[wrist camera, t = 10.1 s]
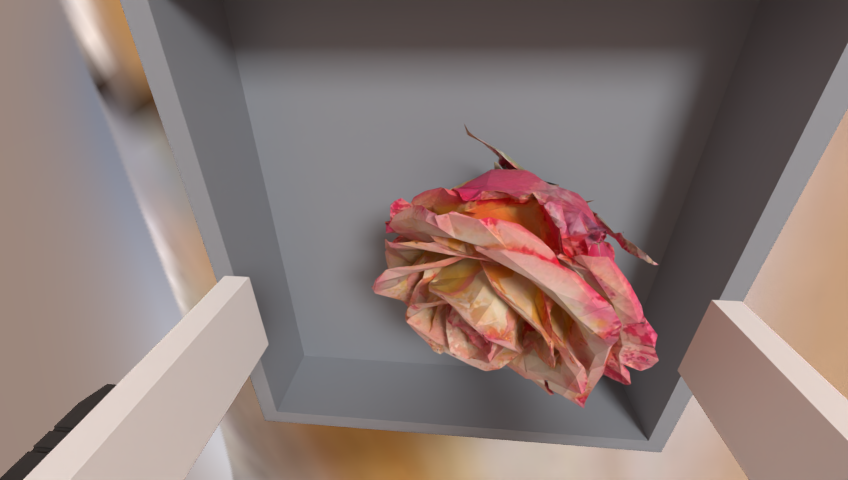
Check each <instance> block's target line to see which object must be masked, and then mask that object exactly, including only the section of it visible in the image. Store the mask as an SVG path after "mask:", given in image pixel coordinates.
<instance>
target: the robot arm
mask: <svg viewBox="0 0 848 480" xmlns="http://www.w3.org/2000/svg"><path fill="white" fill-rule="evenodd" d="M268 345H269V344H268V340H267V337H266V333H265V330H264V326H263V323H262V320H261V316H260V313H259V309H258V306H257V302H256V299H255V295H254V292H253V289H252V285H251V282H250V278H249V277H240V276H224V277H223V278H222V279H221V280H220V281H219V282H218V283H217V284H216V285H215V286H214V287H213V288H212V289H211V290H210V291H209V292H208V293H207V294H206V295H205V296H204V297H203V298H202V299H201V300H200V301H199V302H198V303H197V304H196V305H195V306H194V307H193V308H192V309H191V310H190V311H189V312H188V313H187V314H186V315H185V316H184V317H183V319H182V320H181V321H180V322H179V323H178V324H177V325H176V326H175V327H174V328H173V329H172V330H171V331H170V332H169V333H168V334H167V335H166V336H165V337H164V338H163V339H162V340H161V341H160V342H159V343H158V344H157V345H156V346H155V347H154V348H153V349H152V350H151V351H150V352H149V353H148V354H147V355H146V356H145V357H144V358H143V359H142V360H141V361H140V362H139V363H138V364H137V365H136V366H135V367H134V368H133V369H132V370H131V371H130V372H129V373H128V374H127V375H126V376H125V377H124V378H123V379H122V380H121V381H120V382H119V383H118V384H117V385H112V384H107V385H105V386H104V387H102V388H101V389H100V390H98V391H97V392H95V393H93V394H92V395H90V396H89V397H87V398H86V399H84V400H83V401H81V402H80V403H78V404H77V405H76V406H75V407H74V408H73V409H72V410H71V411H70V412H69V413H68V414H67V415H66V416H65V417H64V418H63V419H62V420H61V421H59V422H58V423H57V425H55V426H54V427H55V428H54V430H53V431H49V432H48V433H47V434H46V435H45V436H44V437H43V438H42V439H41V440H40V441H39V442H38V443H37V444H36V445H34V449H33V450H32V451H31V452H27V453H26V454H25V455H24V456H23V457H22V458H21V459H20V460H19V461H18V462H17V463H16V464H15V465H14V466H12V467H11V468H10V469H9V470H8V471H7V472H6V473H5V474H4V475H3V476H2V477H1V478H0V480H184V479H185V478H186V476H187V474H188V473H189V471H190V470H191V468H192V466H193V465H194V463H195V462H196V460H197V458H198V457H199V455H200V454H201V452H202V450H203V448H204V447H205V446H206V444H207V442H208V441H209V439H210V437H211V436H212V434H213V433H214V431H215V430H216V428H217V426H218V425H219V423H220V422H221V420H222V418H223V417H224V415H225V413H226V412H227V410H228V409H229V407H230V405H231V404H232V402H233V401H234V399H235V397H236V396H237V394H238V393H239V391H240V389H241V388H242V386H243V385H244V383H245V381H246V380H247V378H248V377H249V375H250V373H251V372H252V370H253V369H254V367H255V365H256V364H257V362H258V361H259V359H260V357H261V356H262V354H263V353H264V351H265V349H266V348H267V346H268ZM677 371H678V372H679V374H680V375H681V377H682V378H683V380H684V381H685V383H686V384H687V386H688V387H689V389H690V390H691V392H692V394H693V395H694V397H695V398H696V400H697V401H698V403H699V404H700V406H701V407H702V409H703V410H704V412H705V413H706V415H707V416H708V418H709V419H710V421H711V422H712V424H713V426H714V427H715V429H716V430H717V432H718V433H719V435H720V436H721V438H722V439H723V441H724V442H725V444H726V445H727V447H728V448H729V450H730V451H731V453H732V454H733V456H734V458H735V459H736V461H737V462H738V464H739V465H740V467H741V468H742V470H743V471H744V473H745V474H746V476H747V477H748V479H749V480H848V400H847V399H846V398H845V397H844V396H843V395H842V394H841V393H840V392H839V391H837V390H836V389H835V388H834V387H833V386H832V385H831V384H830V383H829V382H828V381H827V380H826V379H825V378H823V377H822V376H821V375H820V374H819V373H818V372H817V371H816V370H815V369H814V368H813V367H812V366H811V365H810V364H808V363H807V362H806V361H805V360H804V359H803V358H802V357H801V356H800V355H799V354H798V353H797V352H796V351H794V350H793V349H792V348H791V347H790V346H789V345H788V344H787V343H786V342H785V341H784V340H783V339H782V338H781V337H779V336H778V335H777V334H776V333H775V332H774V331H773V330H772V329H771V328H770V327H769V326H768V325H767V324H766V323H764V322H763V321H762V320H761V319H760V318H759V317H758V316H757V315H756V314H755V313H754V312H753V311H752V310H750V309H749V308H748V307H747V306H746V305H745V304H744V303H743V302H742V301H726V300H711V302H710V304H709V307H708V309H707V311H706V313H705V315H704V317H703V319H702V321H701V323H700V325H699V327H698V329H697V331H696V333H695V335H694V337H693V339H692V341H691V343H690V345H689V347H688V350H687V352H686V354H685V356H684V358H683V360H682V362H681V364H680V366H679V368H678V370H677Z"/></svg>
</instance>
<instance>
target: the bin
mask: <svg viewBox="0 0 848 480" xmlns="http://www.w3.org/2000/svg"><path fill="white" fill-rule="evenodd" d="M120 2H121V5H122V8H123V11H124V14H125V17H126V19H127V22H128V25H129V28H130V31H131V34H132V37H133V40H134V43H135V46H136V48H137V51H138V54H139V57H140V60H141V63H142V66H143V69H144V72H145V74H146V77H147V80H148V83H149V86H150V89H151V92H152V95H153V98H154V101H155V103H156V106H157V109H158V112H159V115H160V118H161V121H162V124H163V127H164V129H165V132H166V135H167V138H168V141H169V144H170V147H171V150H172V153H173V156H174V158H175V161H176V164H177V167H178V170H179V173H180V176H181V179H182V182H183V184H184V187H185V190H186V193H187V196H188V199H189V202H190V205H191V208H192V211H193V213H194V216H195V219H196V222H197V225H198V228H199V231H200V234H201V237H202V239H203V242H204V245H205V248H206V251H207V254H208V257H209V260H210V263H211V266H212V268H213V271H214V274H215V277H216V280H217V283H218V282H219V281H220V280H221V279H222V278H223V277H224V276H240V277H249V278H250V282H251V285H252V289H253V292H254V295H255V299H256V302H257V306H258V309H259V313H260V316H261V320H262V323H263V326H264V330H265V333H266V337H267V340H268V344H269V345H268V346H267V348H266V349H265V351H264V353H263V354H262V356H261V357H260V359H259V361H258V362H257V364H256V365H255V367H254V369H253V370H252V372H251V373H250V375H249V376H250V378H251V381H252V384H253V387H254V390H255V393H256V396H257V399H258V402H259V405H260V407H261V410H262V413H263V416H264V419H265V421H277V422H290V423H302V424H314V425H327V426H339V427H352V428H364V429H377V430H389V431H401V432H414V433H426V434H439V435H451V436H463V437H476V438H488V439H501V440H513V441H525V442H538V443H550V444H563V445H575V446H587V447H600V448H612V449H625V450H637V451H649V452H661V451H662V450H663V448H664V446H665V444H666V442H667V440H668V439H669V437H670V435H671V433H672V431H673V429H674V428H675V426H676V424H677V422H678V420H679V418H680V416H681V415H682V413H683V411H684V409H685V407H686V405H687V404H688V402H689V400H690V398H691V396H692V392H691V390H690V389H689V387H688V386H687V384H686V383H685V381H684V380H683V378H682V377H681V375H680V374H679V372H678V371H677V370H678V368H679V366H680V364H681V362H682V360H683V358H684V356H685V354H686V352H687V350H688V347H689V345H690V343H691V341H692V339H693V337H694V335H695V333H696V331H697V329H698V327H699V325H700V323H701V321H702V319H703V317H704V315H705V313H706V311H707V309H708V307H709V304H710V302H711V300H726V301H742V302H743V300H744V299H745V297H746V295H747V293H748V291H749V289H750V287H751V286H752V284H753V282H754V280H755V278H756V276H757V275H758V273H759V271H760V269H761V267H762V265H763V263H764V262H765V260H766V258H767V256H768V254H769V252H770V251H771V249H772V247H773V245H774V243H775V241H776V240H777V238H778V236H779V234H780V232H781V230H782V228H783V227H784V225H785V223H786V221H787V219H788V217H789V216H790V214H791V212H792V210H793V208H794V206H795V205H796V203H797V201H798V199H799V197H800V195H801V193H802V192H803V190H804V188H805V186H806V184H807V182H808V181H809V179H810V177H811V175H812V173H813V171H814V169H815V168H816V166H817V164H818V162H819V160H820V158H821V157H822V155H823V153H824V151H825V149H826V147H827V146H828V144H829V142H830V140H831V138H832V136H833V134H834V133H835V131H836V129H837V127H838V125H839V123H840V122H841V120H842V118H843V116H844V114H845V112H846V111H847V109H848V0H120ZM464 124H465V125H464ZM465 126H466V127H467V129H468V131H469V132H470V133H471V134H472V135H474V136H475V137H476V138H478V139H480V140H482V141H484V142H486V143H488V144H489V145H491V146H493V147H495V148H497V149H498V150H500V151H502V152H504V153H505V154H506V155H508V156H509V157H510V158H511V159H513V160H514V161H515V162H516V163H518V164H519V165H520V166H521V167H522V168H524V169H525V170H528V171H529V172H531V173H533V174H535V175H536V176H538V177H539V178H541V179H542V180H543V181H546V182H550V183H554V184H558V185H559V187H561V188H564V189H567V190H569V191H572V192H575V193H578V194H579V195H580V196H581V197H582V198H583V199H584V200H585V201H591V202H589V203H587V204H588V206H589V208H590V209H591V210H592V211H593V212H595V213H597V215H599V216H600V217H601V218H602V219H604V221H605V222H606V223H607V225H608V226H609V227H610V228H611V230H612V231H613V232H614V233H622V235H623V237H624V238H625V239H627V240H629V241H630V242H632V243H633V244H634V245H635V246H637V247H638V248H639V249H641V250H642V251H643V252H644V253H646V254H647V255H648V256H649V257H650V258H651V259H652V261H654V262H655V263H657V264H658V265H653V264H650V263H648V262H646V261H645V260H644V259H641V258H637V257H636V256H634V255H633V254H630V253H628V252H627V251H628V250H627V251H626V250H624V249H622V248H621V246H620V244H619V243H618V242H617V240H616V239H614V238H613V237H611V236H610V235H608V234H607V235H606V236H607V238H606V239H605V240H604V241H605V242H609V243H610V244H611V246H612V247H613V248H614V253H615V258H614V262H615V263H616V265H617V266H618V268H619V269H620V270H621V272H622V273H623V275H624V276H625V277H626V279H627V280H628V282H629V283H630V285H631V287H632V289H633V290H634V292H635V294H636V296H637V298H638V300H639V302H640V304H641V306H642V310H643V315H644V317H645V318H646V320H647V321H648V322H649V324H650V325H651V326H652V328H653V329H654V331H655V332H656V333H657V335H658V336H657V340H656V345H655V351H656V354H657V356H658V360H659V361H658V362H657V363H655V364H654V365H653V366H652V367H650V368H647V369H645V370H642V371H639V370H637V369H634V368H632V367H629V366H626V365H624V364H623V365H624V367H625V368H626V369H627V370H628V371H629V374H630V381H631V384H630V385H625V384H623V383H620V382H618V381H616V380H613V379H611V378H610V377H608V376H606V375H605V374H603V375H602V376H601V378H600V379H599V381H598V382H597V384H596V385H595V387H594V388H593V390H592V391H591V393H590V394H589V396H588V397H587V399H586V402H585V406H584V408H582V407H580V406H579V405H577V404H575V403H574V402H572V401H570V400H569V399H567V398H565V397H564V396H562V395H560V394H558V393H556V392H554V391H553V393H554V395H549V394H548V393H547V392H546V391H544V390H543V389H542V388H541V387H540V386H538V385H537V384H536V383H535V382H534V381H532V380H531V379H525V378H524V377H523V376H521V375H520V374H518V373H517V372H515V371H514V370H513V369H511V368H510V367H508V366H507V365H505V366H503V367H502V368H500V369H497V370H490V371H484V370H481V369H479V368H477V367H474V366H472V365H470V364H467V363H465V362H463V361H461V360H459V359H457V358H455V357H454V356H452V355H450V354H448V353H446V352H443V353H441V354H439V353H436V352H434V351H433V350H432V348H431V347H430V345H429V344H428V343H427V342H426V341H425V340H424V339H423V338H422V337H421V336H419V335H418V334H417V333H416V332H415V331H414V330H413V328H412V327H411V326H410V325H409V324H408V323H407V322H406V321H405V313H406V310H407V308H408V306H407V305H406V304H405V303H404V302H403V301H402V300H399V299H395V298H391V297H387V296H383V295H379V294H376V293H375V292H374V291H373V289H372V287H371V286H373V285H374V282H375V280H376V279H377V278H378V277H379V276H380V275H381V274H382V273H383V272H384V271H385V270H387V269H388V267H387V262H386V256H385V251H386V248H385V239H387V241H388V242H393V241H394V240H395V239H396V238H397V237H398V236H399V235H400V234H397V233H386V224H385V222H386V221H390V205H391V204H392V203H393V202H394V201H396V200H397V199H400V198H402V199H404V200H405V201H407V202H408V203H411V202H412V200H413V198H414V197H415V196H417V195H419V194H421V193H422V192H424V191H427V190H431V189H436V188H440V187H441V188H445V189H448V190H450V189H452V188H454V187H455V186H457V185H460V184H462V183H464V182H466V181H469V180H472V179H474V178H477V177H479V176H480V175H482V174H484V173H486V172H487V171H489V170H491V169H494V162H496V163H498V160H499V157H498V156H497V155H496V154H495V153H494V152H492V151H491V150H490V149H489V148H488V147H487V146H486V145H484V144H483V143H482V142H480V141H478V140H476V139H474V138H472V137H470V136H469V135H467V132H466V129H465ZM498 164H499V163H498ZM499 166H500V165H499ZM500 167H501V166H500ZM501 169H503V168H502V167H501ZM592 200H594V201H592ZM623 232H624V233H623ZM635 249H636V248H635ZM645 257H646V256H645ZM640 323H642V324H644V323H643V322H640ZM648 360H649V359H647V360H646V361H648ZM546 381H548V380H546Z"/></svg>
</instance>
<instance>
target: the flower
mask: <svg viewBox="0 0 848 480" xmlns="http://www.w3.org/2000/svg"><path fill="white" fill-rule="evenodd" d="M464 125H465V124H464ZM465 129H466V132H467V135H469V136H470V137H472V138H474V139H476V140H478V141H480V142H482V143H483V144H484V145H486V146H487V147H488V148H489V149H490V150H491V151H492V152H494V153H495V154H496V155H497V156H498V157H499V160H498V163H499V164H498V163H496V162H494V169H491V170H489V171H487V172H486V173H484V174H482V175H480V176H479V177H477V178H474V179H472V180H469V181H466V182H464V183H462V184H460V185H457V186H455V187H454V188H452V189H450V190H448V189H445V188H441V187H440V188H436V189H431V190H427V191H424V192H422V193H421V194H419V195H417V196H415V197H414V198H413V200H412V202H411V203H408V202H407V201H405V200H404V199H402V198H400V199H397V200H396V201H394V202H393V203H392V204H391V205H390V221H386V222H385V224H386V233H397V234H400V235H399V236H398V237H397V238H396V239H395V240H394V241H393V242H388V241H387V239H385V248H386V251H385V256H386V262H387V267H388V269H387V270H385V271H384V272H383V273H382V274H381V275H380V276H379V277H378V278H377V279H376V280H375V282H374V285H373V286H371V287H372V289H373V291H374V292H375V293H376V294H379V295H383V296H387V297H391V298H395V299H399V300H402V301H403V302H404V303H405V304H406V305H407V306H408V308H407V310H406V313H405V321H406V322H407V323H408V324H409V325H410V326H411V327H412V328H413V330H414V331H415V332H416V333H417V334H418V335H419V336H421V337H422V338H423V339H424V340H425V341H426V342H427V343H428V344H429V345H430V347H431V348H432V350H433V351H434V352H436V353H439V354H441V353H443V352H446V353H448V354H450V355H452V356H454V357H455V358H457V359H459V360H461V361H463V362H465V363H467V364H470V365H472V366H474V367H477V368H479V369H481V370H484V371H490V370H497V369H500V368H502V367H503V366H505V365H507V366H508V367H510V368H511V369H513V370H514V371H515V372H517V373H518V374H520V375H521V376H523V377H524V378H525V379H531V380H532V381H534V382H535V383H536V384H537V385H538V386H540V387H541V388H542V389H543V390H544V391H546V392H547V393H548V394H549V395H554V393H553V391H554V392H556V393H558V394H560V395H562V396H564V397H565V398H567V399H569V400H570V401H572V402H574V403H575V404H577V405H579V406H580V407H582V408H584V406H585V402H586V399H587V397H588V396H589V394H590V393H591V391H592V390H593V388H594V387H595V385H596V384H597V382H598V381H599V379H600V378H601V376H602V375H603V374H605V375H606V376H608V377H610V378H611V379H613V380H616V381H618V382H620V383H623V384H625V385H630V384H631V381H630V374H629V371H628V370H627V369H626V368H625V367H624V365H626V366H629V367H632V368H634V369H637V370H639V371H642V370H645V369H647V368H650V367H652V366H653V365H654V364H655V363H657V362H658V361H659V360H658V356H657V354H656V351H655V345H656V340H657V336H658V335H657V333H656V332H655V331H654V329H653V328H652V326H651V325H650V324H649V322H648V321H647V320H646V318H645V317H644V315H643V310H642V306H641V304H640V302H639V300H638V298H637V296H636V294H635V292H634V290H633V289H632V287H631V285H630V283H629V282H628V280H627V279H626V277H625V276H624V275H623V273H622V272H621V270H620V269H619V268H618V266H617V265H616V263H615V262H614V258H615V253H614V248H613V247H612V246H611V244H610V243H609V242H605V241H604V240H605V239H606V238H607V236H606V235H607V234H608V235H610V236H611V237H613V238H614V239H616V240H617V242H618V243H619V244H620V246H621V248H622V249H624V250H626V251H627V250H628V251H627V252H628V253H630V254H633V255H634V256H636V257H637V258H641V259H644V260H645V261H646V262H648V263H650V264H653V265H658V264H657V263H655V262H654V261H652V259H651V258H650V257H649V256H648V255H647V254H646V253H644V252H643V251H642V250H641V249H639V248H638V247H637V246H635V245H634V244H633V243H632V242H630V241H629V240H627V239H625V238H624V237H623V235H622V233H614V232H613V231H612V230H611V228H610V227H609V226H608V225H607V223H606V222H605V221H604V219H602V218H601V217H600V216H599V215H597V213H595V212H593V211H592V210H591V209H590V208H589V206H588V204H587V203H589V202H591V201H585V200H584V199H583V198H582V197H581V196H580V195H579V194H578V193H575V192H572V191H569V190H567V189H564V188H561V187H559V185H558V184H554V183H550V182H546V181H543V180H542V179H541V178H539V177H538V176H536V175H535V174H533V173H531V172H529V171H528V170H525V169H524V168H522V167H521V166H520V165H519V164H518V163H516V162H515V161H514V160H513V159H511V158H510V157H509V156H508V155H506V154H505V153H504V152H502V151H500V150H498V149H497V148H495V147H493V146H491V145H489V144H488V143H486V142H484V141H482V140H480V139H478V138H476V137H475V136H474V135H472V134H471V133H470V132H469V131H468V129H467V127H466V126H465ZM499 165H500V166H501V167H502V168H503V169H501V167H500V166H499ZM592 201H594V200H592ZM623 233H624V232H623ZM635 248H636V249H635ZM645 256H646V257H645ZM640 322H643V323H644V324H642V323H640ZM647 359H649V360H648V361H646V360H647ZM623 364H624V365H623ZM546 380H548V381H546Z"/></svg>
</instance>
